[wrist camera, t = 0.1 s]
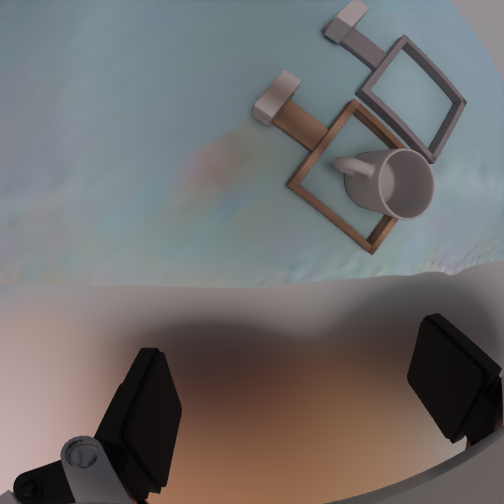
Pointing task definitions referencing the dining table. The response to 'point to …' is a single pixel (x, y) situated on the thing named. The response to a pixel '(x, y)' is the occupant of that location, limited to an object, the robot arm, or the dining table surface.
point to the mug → (389, 182)
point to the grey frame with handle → (378, 62)
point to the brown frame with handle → (319, 145)
